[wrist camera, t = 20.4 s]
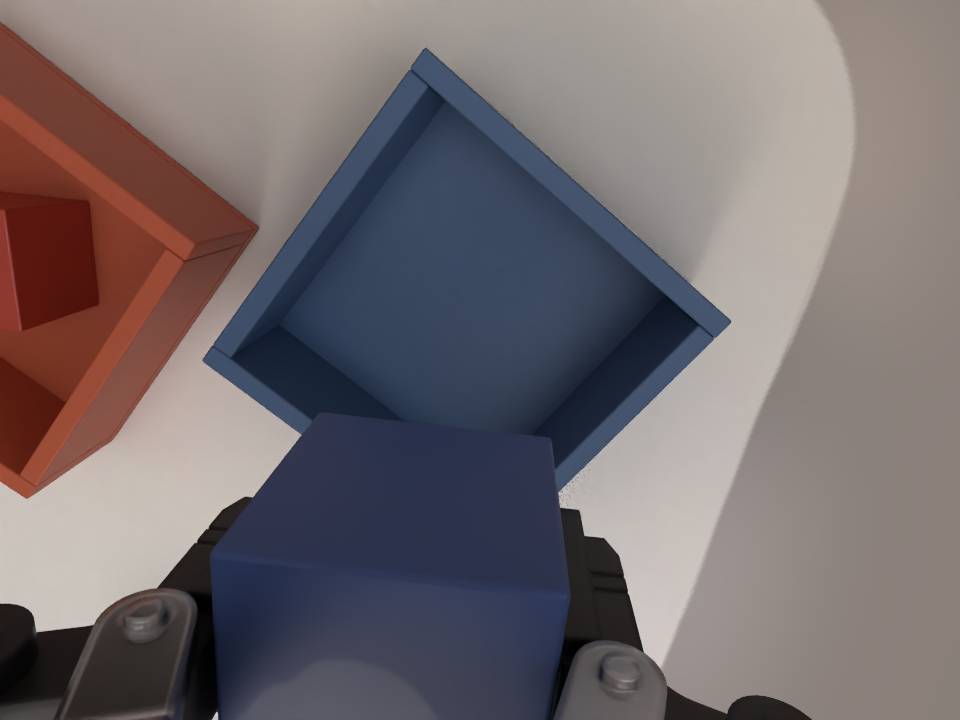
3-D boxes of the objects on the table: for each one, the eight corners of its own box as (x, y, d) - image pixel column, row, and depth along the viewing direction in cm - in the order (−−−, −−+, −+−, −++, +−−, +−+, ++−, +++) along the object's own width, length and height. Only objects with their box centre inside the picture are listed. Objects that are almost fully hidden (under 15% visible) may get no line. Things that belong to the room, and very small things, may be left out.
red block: (-15, 189, 26) (-121, 195, 22) (89, 200, 26) (4, 209, 22) (0, 294, 28) (-96, 319, 23) (99, 305, 28) (22, 332, 23)
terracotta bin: (-19, 6, 25) (-167, -36, 19) (259, 227, 27) (196, 244, 21) (-141, 264, 28) (-293, 288, 23) (112, 440, 30) (26, 500, 25)
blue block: (319, 409, 12) (206, 552, 8) (551, 436, 12) (572, 595, 8) (316, 602, 14) (220, 813, 9) (524, 626, 13) (528, 852, 9)
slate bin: (445, 71, 24) (424, 46, 19) (689, 289, 27) (732, 322, 21) (260, 323, 28) (200, 361, 23) (488, 496, 30) (481, 569, 25)
